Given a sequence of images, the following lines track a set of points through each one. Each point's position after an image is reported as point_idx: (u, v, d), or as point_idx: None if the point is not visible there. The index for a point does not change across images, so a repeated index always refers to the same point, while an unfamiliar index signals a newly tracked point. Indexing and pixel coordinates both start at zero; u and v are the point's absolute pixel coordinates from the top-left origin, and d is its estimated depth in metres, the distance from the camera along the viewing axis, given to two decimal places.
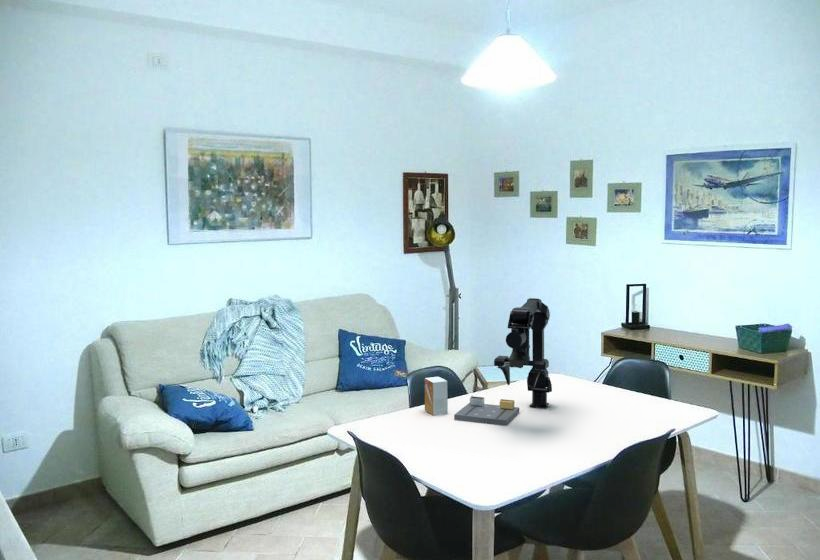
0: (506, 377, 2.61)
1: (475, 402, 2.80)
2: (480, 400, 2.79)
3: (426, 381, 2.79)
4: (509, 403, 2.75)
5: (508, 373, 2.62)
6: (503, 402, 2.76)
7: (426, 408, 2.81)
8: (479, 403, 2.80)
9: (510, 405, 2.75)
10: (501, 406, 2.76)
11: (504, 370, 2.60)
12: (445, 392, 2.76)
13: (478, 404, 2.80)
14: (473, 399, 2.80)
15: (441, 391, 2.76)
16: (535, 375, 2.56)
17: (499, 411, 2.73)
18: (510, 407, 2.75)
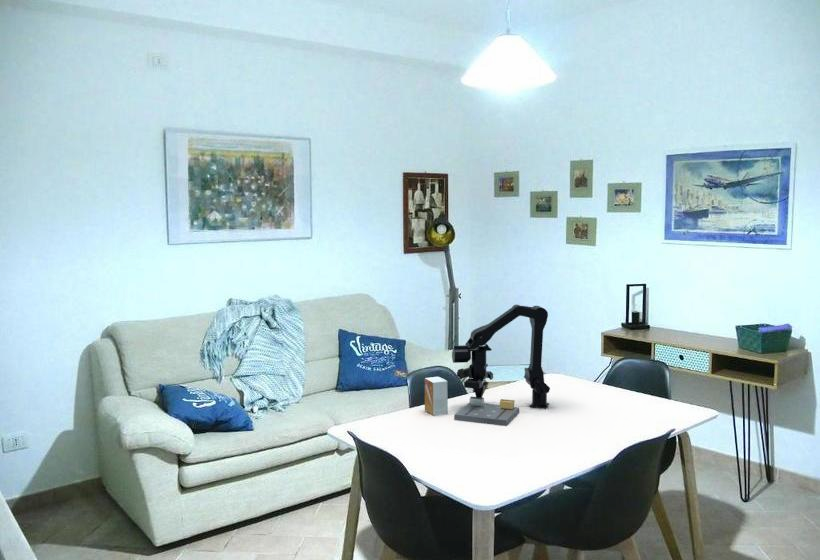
0: None
1: (475, 402, 2.80)
2: (480, 400, 2.79)
3: (426, 381, 2.79)
4: (509, 403, 2.75)
5: None
6: (503, 402, 2.76)
7: (426, 408, 2.81)
8: (479, 403, 2.79)
9: (510, 405, 2.75)
10: (501, 406, 2.76)
11: None
12: (445, 392, 2.76)
13: (478, 404, 2.79)
14: (473, 399, 2.80)
15: (441, 391, 2.76)
16: None
17: (499, 411, 2.73)
18: (510, 407, 2.75)
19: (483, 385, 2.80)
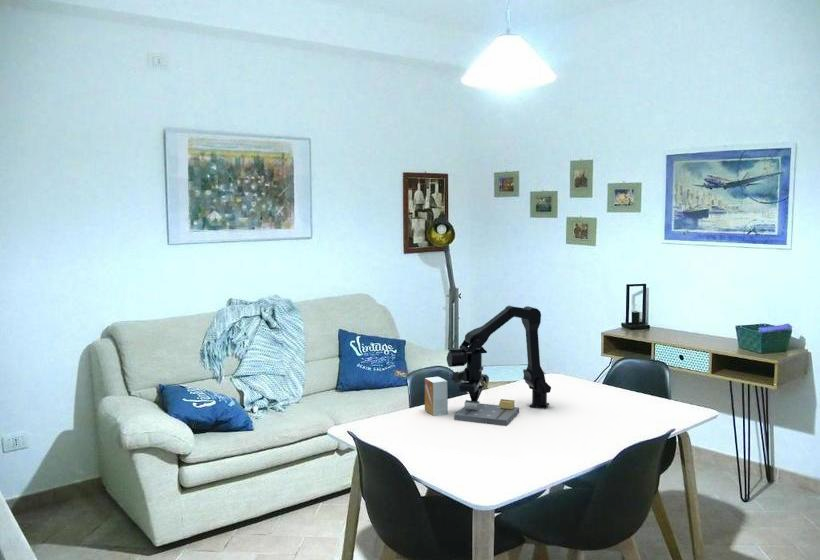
0: None
1: (470, 406, 2.75)
2: (475, 404, 2.74)
3: (426, 381, 2.79)
4: (509, 403, 2.75)
5: None
6: (503, 402, 2.76)
7: (426, 408, 2.81)
8: (474, 407, 2.74)
9: (510, 405, 2.75)
10: (501, 406, 2.76)
11: None
12: (445, 392, 2.76)
13: (473, 408, 2.74)
14: (468, 403, 2.75)
15: (441, 391, 2.76)
16: None
17: (499, 411, 2.73)
18: (510, 407, 2.75)
19: (478, 388, 2.75)
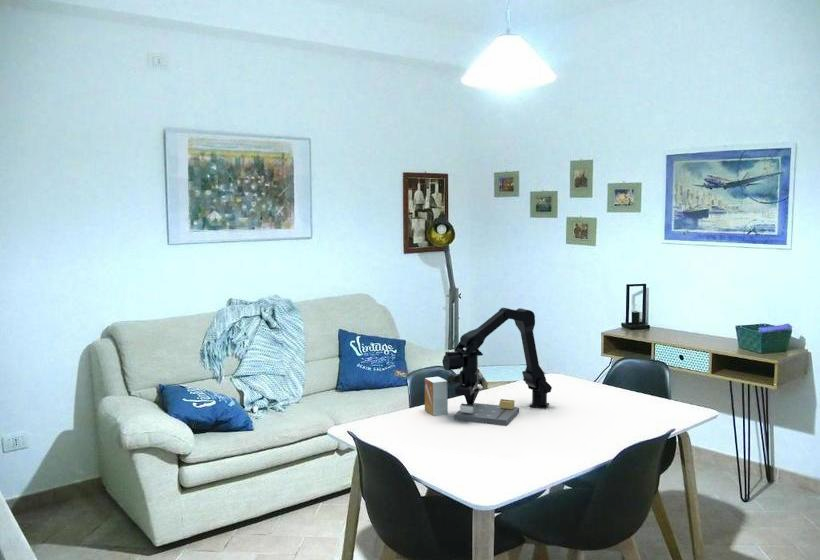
0: None
1: (466, 410, 2.70)
2: (471, 408, 2.69)
3: (426, 381, 2.79)
4: (509, 403, 2.75)
5: None
6: (503, 402, 2.76)
7: (426, 408, 2.81)
8: (470, 411, 2.69)
9: (510, 405, 2.75)
10: (501, 406, 2.76)
11: None
12: (445, 392, 2.76)
13: (469, 412, 2.70)
14: (464, 406, 2.70)
15: (441, 391, 2.76)
16: None
17: (499, 411, 2.73)
18: (510, 407, 2.75)
19: (474, 392, 2.70)
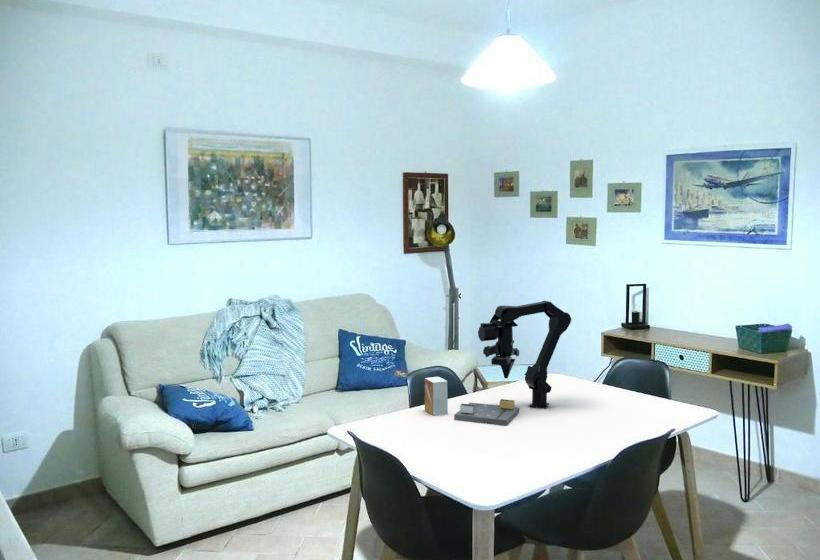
0: None
1: (465, 410, 2.70)
2: (471, 408, 2.69)
3: (426, 381, 2.79)
4: (509, 403, 2.75)
5: None
6: (503, 402, 2.76)
7: (426, 408, 2.81)
8: (469, 411, 2.69)
9: (510, 405, 2.75)
10: (501, 406, 2.76)
11: None
12: (445, 392, 2.76)
13: (469, 412, 2.69)
14: (463, 407, 2.70)
15: (441, 391, 2.76)
16: None
17: (499, 411, 2.73)
18: (510, 407, 2.75)
19: (510, 362, 2.77)
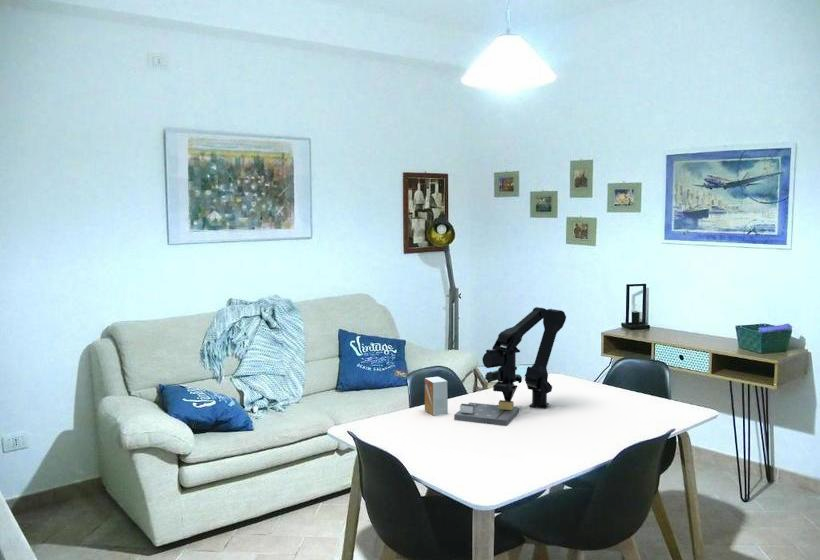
0: None
1: (465, 410, 2.70)
2: (471, 408, 2.69)
3: (426, 381, 2.79)
4: (508, 404, 2.73)
5: None
6: (502, 403, 2.74)
7: (426, 408, 2.81)
8: (469, 411, 2.69)
9: (509, 406, 2.73)
10: (500, 407, 2.75)
11: None
12: (445, 392, 2.76)
13: (469, 412, 2.69)
14: (463, 407, 2.70)
15: (441, 391, 2.76)
16: None
17: (499, 411, 2.73)
18: (509, 408, 2.73)
19: (512, 388, 2.74)
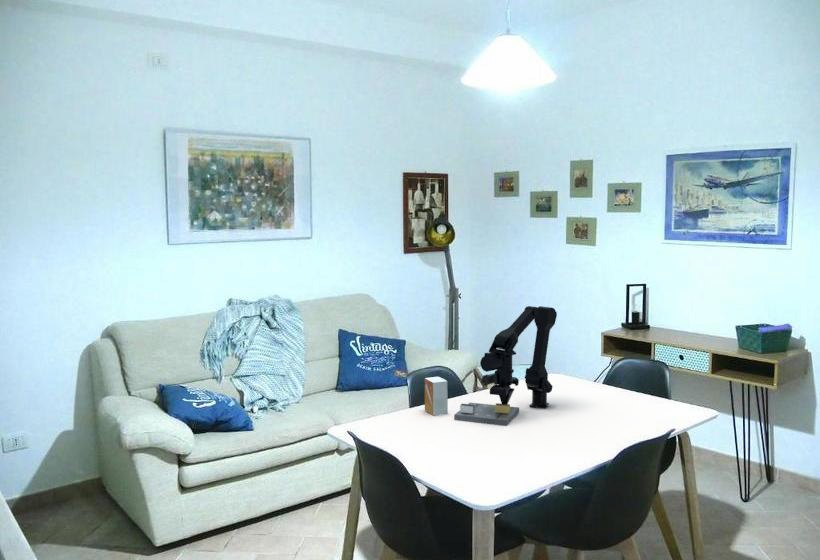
0: None
1: (465, 410, 2.70)
2: (471, 408, 2.69)
3: (426, 381, 2.79)
4: (504, 407, 2.69)
5: None
6: (498, 406, 2.70)
7: (426, 408, 2.81)
8: (469, 411, 2.69)
9: (505, 409, 2.69)
10: (496, 410, 2.70)
11: None
12: (445, 392, 2.76)
13: (469, 412, 2.69)
14: (463, 407, 2.70)
15: (441, 391, 2.76)
16: None
17: None
18: (505, 411, 2.69)
19: (509, 392, 2.70)
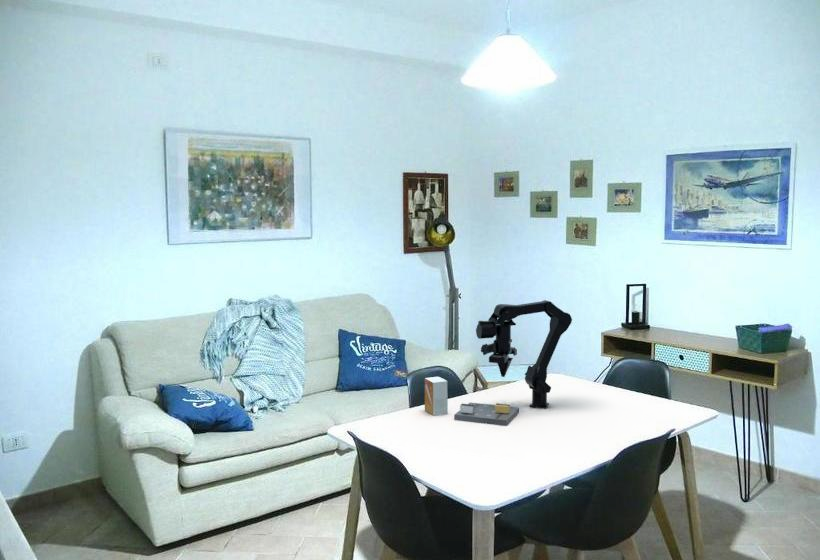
0: None
1: (465, 410, 2.70)
2: (471, 408, 2.69)
3: (426, 381, 2.79)
4: (504, 407, 2.69)
5: None
6: (498, 406, 2.70)
7: (426, 408, 2.81)
8: (469, 411, 2.69)
9: (505, 409, 2.69)
10: (496, 410, 2.70)
11: None
12: (445, 392, 2.76)
13: (469, 412, 2.69)
14: (463, 407, 2.70)
15: (441, 391, 2.76)
16: None
17: None
18: (505, 411, 2.69)
19: (508, 360, 2.78)
